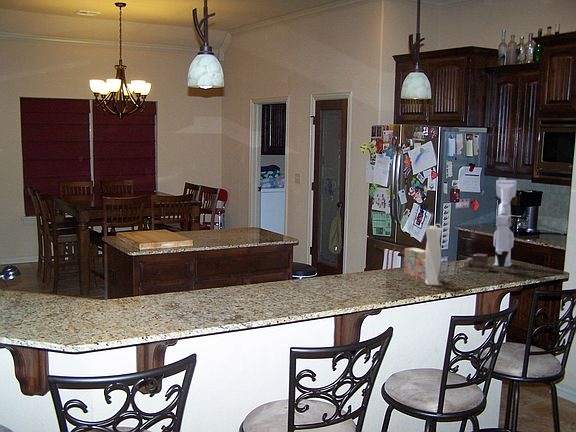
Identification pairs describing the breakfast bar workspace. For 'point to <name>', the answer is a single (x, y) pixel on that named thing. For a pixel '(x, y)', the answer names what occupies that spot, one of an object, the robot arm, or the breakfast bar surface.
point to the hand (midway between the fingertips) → (501, 266)
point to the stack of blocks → (415, 262)
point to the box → (480, 261)
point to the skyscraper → (433, 255)
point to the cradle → (469, 267)
